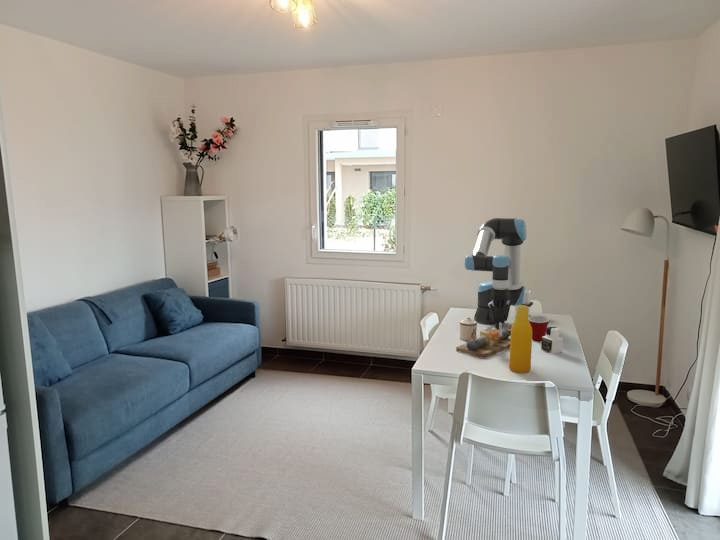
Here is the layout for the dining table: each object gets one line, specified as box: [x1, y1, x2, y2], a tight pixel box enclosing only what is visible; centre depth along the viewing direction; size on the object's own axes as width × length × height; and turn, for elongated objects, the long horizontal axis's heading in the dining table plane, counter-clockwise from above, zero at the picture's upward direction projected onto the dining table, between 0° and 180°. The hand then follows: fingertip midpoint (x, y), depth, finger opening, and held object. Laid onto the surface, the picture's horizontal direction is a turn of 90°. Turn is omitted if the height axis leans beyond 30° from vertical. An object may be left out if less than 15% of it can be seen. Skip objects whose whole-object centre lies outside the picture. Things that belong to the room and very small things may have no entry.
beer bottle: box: [508, 305, 533, 374], centre depth 242 cm, size 9×9×29 cm
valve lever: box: [485, 326, 498, 338], centre depth 269 cm, size 14×3×2 cm, turn 179°
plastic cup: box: [528, 315, 550, 343], centre depth 287 cm, size 11×11×12 cm
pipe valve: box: [455, 328, 511, 359], centre depth 276 cm, size 32×16×9 cm, turn 134°
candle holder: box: [514, 289, 534, 318], centre depth 338 cm, size 25×24×16 cm
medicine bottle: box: [540, 326, 564, 355], centre depth 269 cm, size 7×7×12 cm
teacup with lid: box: [459, 316, 478, 342], centre depth 292 cm, size 12×9×12 cm
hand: (498, 335), depth 266 cm, fingers closed
